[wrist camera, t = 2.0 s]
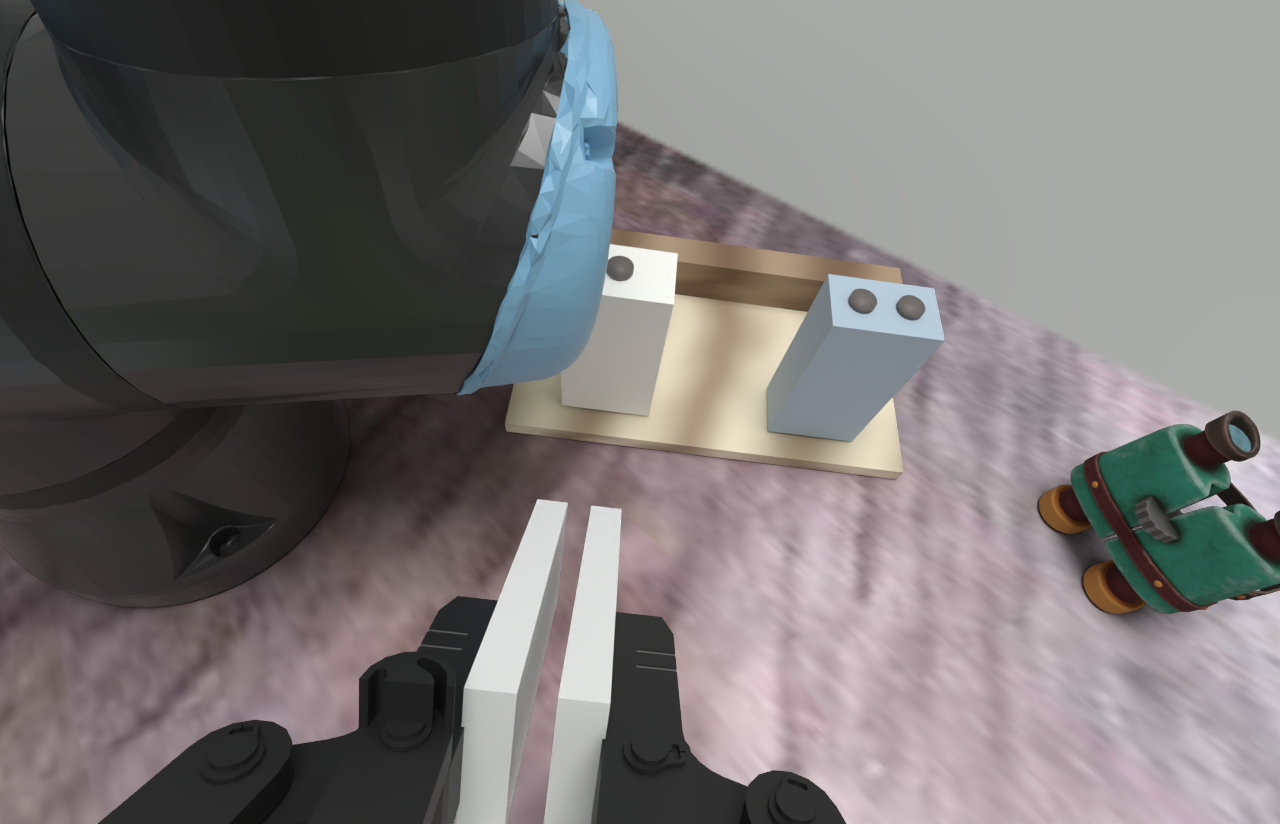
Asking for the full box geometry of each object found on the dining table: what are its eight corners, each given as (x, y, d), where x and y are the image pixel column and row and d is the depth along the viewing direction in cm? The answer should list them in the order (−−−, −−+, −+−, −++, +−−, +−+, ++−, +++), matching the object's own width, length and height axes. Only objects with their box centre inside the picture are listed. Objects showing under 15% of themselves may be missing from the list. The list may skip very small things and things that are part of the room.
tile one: (562, 405, 34) (557, 284, 25) (570, 358, 36) (569, 228, 27) (648, 415, 34) (674, 300, 25) (652, 368, 36) (679, 243, 27)
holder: (506, 431, 34) (498, 396, 31) (544, 263, 41) (541, 219, 37) (895, 479, 35) (930, 450, 32) (872, 308, 42) (899, 268, 38)
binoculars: (1475, 545, 25) (1330, 591, 22) (1221, 601, 34) (1095, 639, 31) (1317, 371, 29) (1177, 391, 27) (1127, 461, 38) (1007, 484, 35)
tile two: (767, 430, 34) (835, 321, 26) (766, 383, 36) (830, 264, 27) (851, 441, 35) (948, 336, 26) (846, 393, 36) (936, 279, 27)
